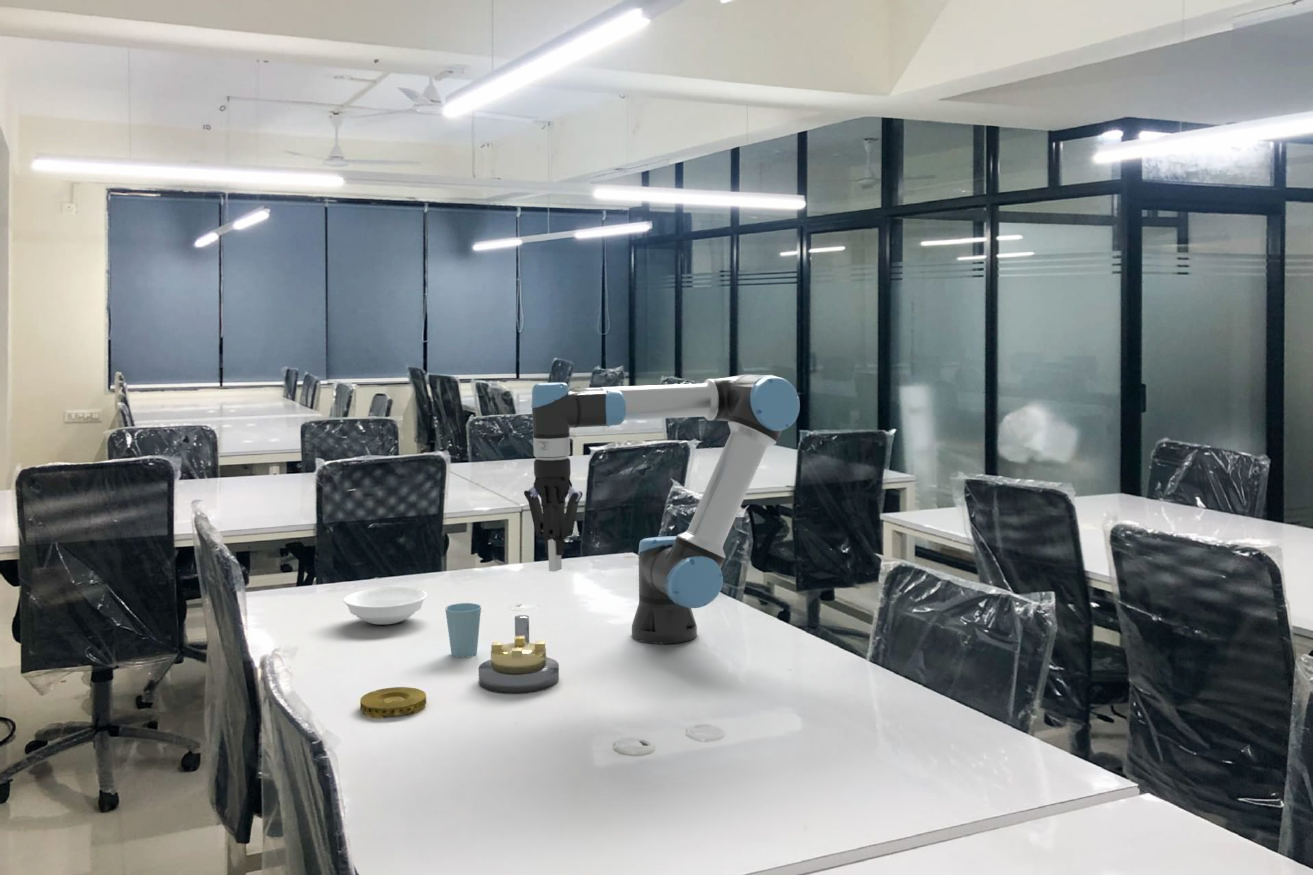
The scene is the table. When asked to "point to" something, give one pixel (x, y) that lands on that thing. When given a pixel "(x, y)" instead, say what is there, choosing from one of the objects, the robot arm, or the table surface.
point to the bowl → (385, 604)
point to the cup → (463, 628)
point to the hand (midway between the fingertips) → (555, 569)
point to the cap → (518, 679)
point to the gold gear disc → (393, 702)
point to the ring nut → (519, 651)
